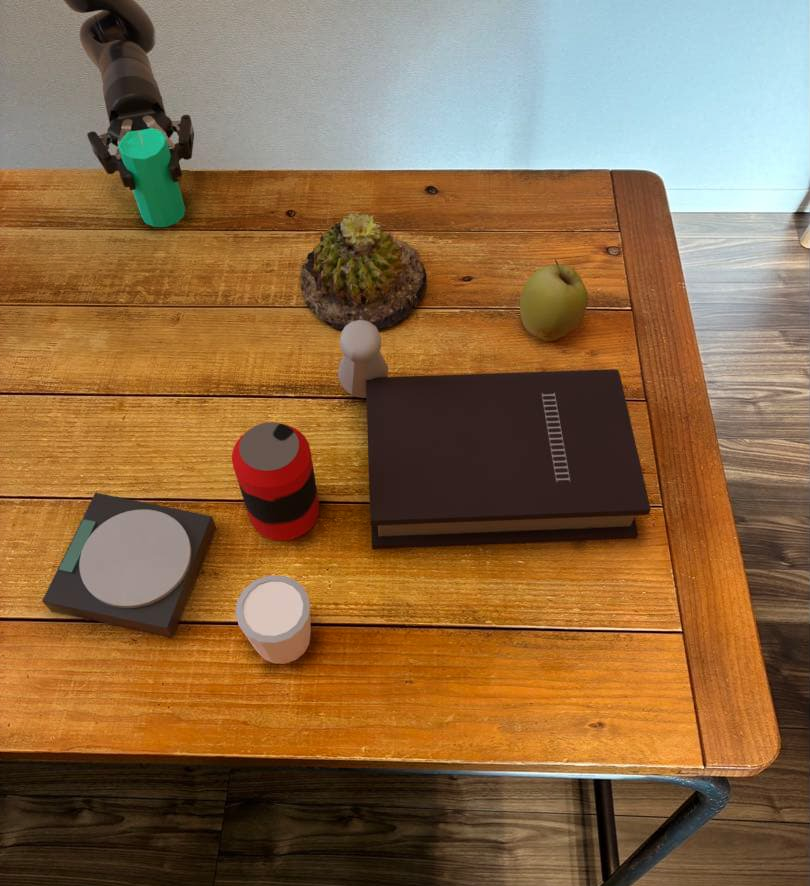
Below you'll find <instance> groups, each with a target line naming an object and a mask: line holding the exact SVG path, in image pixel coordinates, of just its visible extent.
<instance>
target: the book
mask: <svg viewBox="0 0 810 886" xmlns="http://www.w3.org/2000/svg"><path fill="white" fill-rule="evenodd" d="M365 399H366V401H365V402H366V404H365V405H366V431H367V461H368V463H367V464H368V490H369V491H368V493H369V519H370V520H369V521H370V529H371V531H370V532H371V550H392V549H393V550H394V549H395V550H397V549H418V548H419V549H420V548H421V549H422V548H442V547H444V548H445V547H465V546H467V547H468V546H493V545H515V544H518V545H519V544H541V543H543V544H544V543H565V542H566V543H567V542H591V541H593V542H594V541H614V540H615V541H617V540H636V539H637V537H638V536H639V531H638V526H637V522H636V516H649V515H650V513H651V510H652V509H651V504H650V499H649V496H648V491H647V487H646V486H647V485H646V482H645V478H644V474H643V469H642V465H641V460H640V456H639V452H638V448H637V444H636V439H635V435H634V430H633V425H632V422H631V417H630V413H629V408H628V404H627V400H626V395H625V391H624V386H623V382H622V378H621V374H620V371H619V369H616V368H612V369H611V368H610V369H609V368H608V369H606V368H605V369H583V370H582V369H581V370H580V369H578V370H554V371H553V370H551V371H522V372H521V371H520V372H494V373H491V372H490V373H466V374H465V373H463V374H437V375H436V374H435V375H433V374H432V375H410V376H409V375H406V376H404V375H403V376H388V377H379V378H373V379H372V380H366V398H365Z"/></svg>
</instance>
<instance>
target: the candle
mask: <svg viewBox="0 0 810 886" xmlns="http://www.w3.org/2000/svg"><path fill="white" fill-rule="evenodd" d="M118 148H119V151H120V154H121V157H122V160H123V163H124V165H125V166H126V168H127V170H129V171H130V172H131V175H132V178H133V181H134V184H135V188H136V189H135V190H132V193H133V196H134V200H135V202H136V205H137V208H138V211H139V213H140V214H139V215H140V217H141V218H142V220H143V222H144V223H145V224H146V225H148V226H151V227H154V228H167V227H170V226H173V225H176V224H177V223H179V222H180V221H181V220H182V219H183V218H184V217H185V212H186V205H185V202H184V198H183V195H182V190H181V187H180V184H179V181H178V182H173V180H172V176H171V173H170V169H169V165H168V164H169V161H170V157H171V154H170V151H169V147H168V143H167V140H166V138H165V136H164V134H163V133H162V131H159V130H156V129H153V128H150V129H145V130H139V131H130V132H127V134H126V135H125V136H124V137H123V138H122V139H121V141H120V143H119V144H118V147H117V149H118Z"/></svg>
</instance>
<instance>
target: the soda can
mask: <svg viewBox="0 0 810 886" xmlns="http://www.w3.org/2000/svg"><path fill="white" fill-rule="evenodd" d="M232 448H233V449H232V453H231V463H232V467H233V471H234V474H235V477H236V480H237V483H238V485H239V490H240V494H241V496H242V498H243V502H244V505H245V509H246V512H247V515H248V518H249V521H250V523H251V525H252V527H253V528H254V529H255V531H256V532H258V533H259V535H261V536H263V537H265V538H267V539H271V540H274V541H289V540H293V539H297V538H299V537H301V536H303V535H305V534H306V533H307V532H309V531H310V530H311V529H312V528H313V527H314V525H315V524H316V523H317V520H318V519H319V515H320V500H319V493H318V489H317V482H316V476H315V470H314V464H313V458H312V452H311V446H310V443H309V441H308V439H307V438H306V436H305V435H304V433H302V432H301V431H300V430H298V429H297V428H295V427H293V426H292V425H288V424H284V423H281V422H276V421H275V422H274V421H269V422H268V421H267V422H262V423H259V424H257V425H254V426H253V427H251V428H249V429H248V430H247V431H246V432H245V433H243V434H242V435H241V436H239V438H238V439H237V441H236V442H235V444H234V445H233V447H232Z"/></svg>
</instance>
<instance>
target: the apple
mask: <svg viewBox="0 0 810 886" xmlns="http://www.w3.org/2000/svg"><path fill="white" fill-rule="evenodd" d="M554 262H555V264H550V265H545V266H542V267H540V268H538V269H537V270H535V272H533V273H532V274H531V275H530V276H529V277H528V279H527V280H526V281H525V283H524V285H523V287H522V290H521V293H520V299H519V312H520V317H521V321H522V325H523V327H524V329H525V330H526V331H527V332H529V333H530V334H531V335H532V336H534V337H535V338H538V339H539V340H541V341H544V342H554V341H556V340H559V339H561V338H563V337H564V336H566V335H567V334H569V333H570V332H571V331H573V330H574V329H575V328H576V327H577V326H578V325H579V324H580V322H581V321H582V319H583V317H584V316H585V314H586V312H587V309H588V304H589V293H588V289H587V287H586V285H585V284H584V282H583V279H582V277H581V276H580V274H579V273H578V272H577V271H576V270H575V269H574V268H572V267H571V266H568V265H567V264H560V263H559V262H558V261H557V260H556V259H554Z"/></svg>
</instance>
